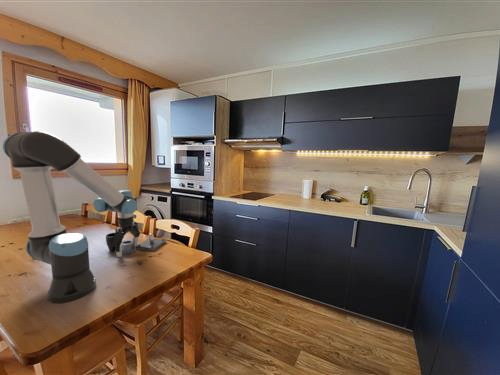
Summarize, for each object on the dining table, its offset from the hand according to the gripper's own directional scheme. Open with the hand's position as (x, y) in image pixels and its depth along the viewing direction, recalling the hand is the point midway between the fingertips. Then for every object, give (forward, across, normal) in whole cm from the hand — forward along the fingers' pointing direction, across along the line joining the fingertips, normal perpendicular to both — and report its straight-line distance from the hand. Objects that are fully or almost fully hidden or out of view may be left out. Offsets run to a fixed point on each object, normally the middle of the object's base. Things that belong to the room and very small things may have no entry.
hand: (127, 251), depth 123 cm
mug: (0, 0, +8) cm, 8 cm away
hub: (0, 0, 0) cm, 0 cm away
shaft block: (0, +11, -8) cm, 14 cm away
